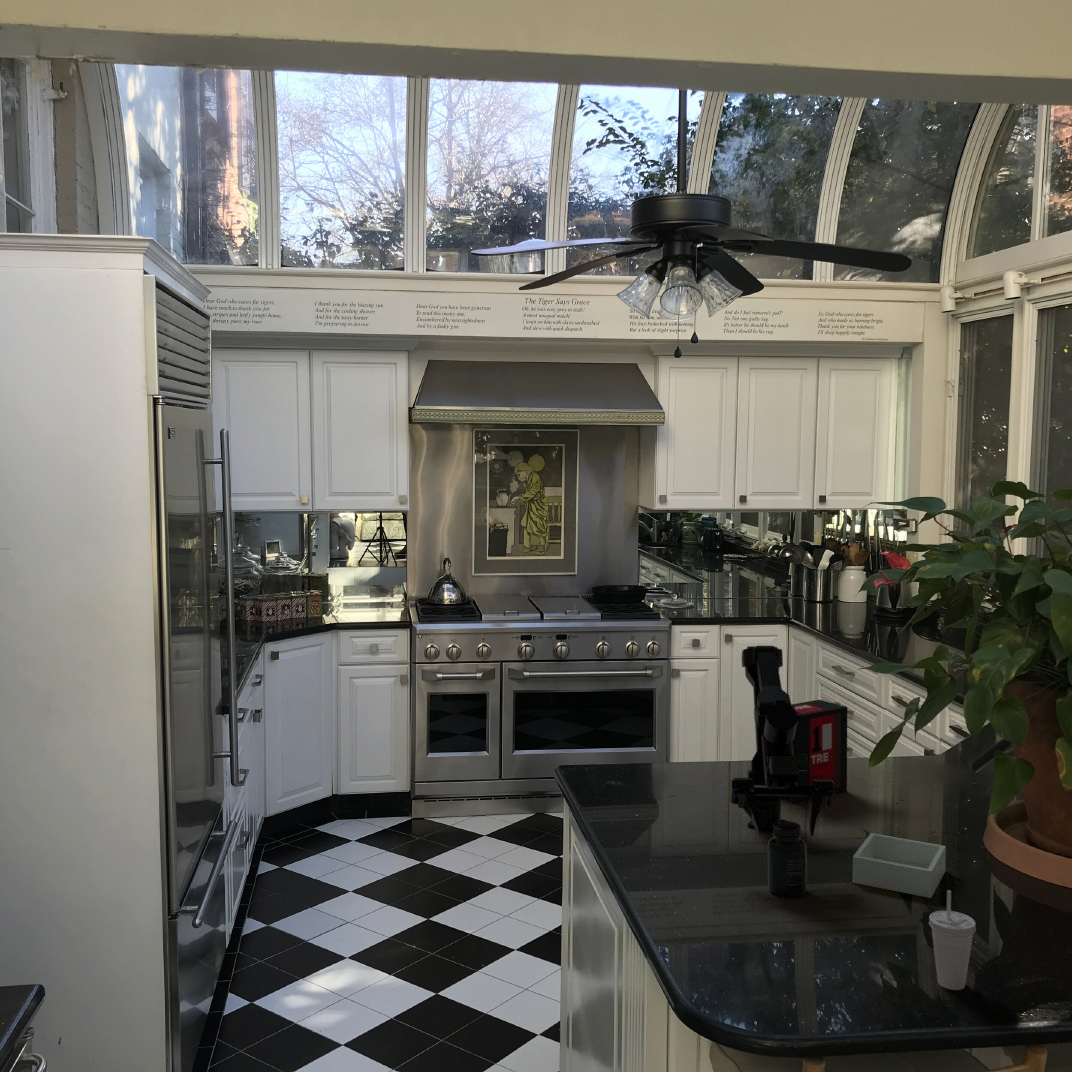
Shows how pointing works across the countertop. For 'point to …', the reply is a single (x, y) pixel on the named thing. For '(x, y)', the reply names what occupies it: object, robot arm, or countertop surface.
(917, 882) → the box
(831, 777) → the cleaning product box
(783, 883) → the supplement bottle
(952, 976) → the smoothie
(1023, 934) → the countertop surface
